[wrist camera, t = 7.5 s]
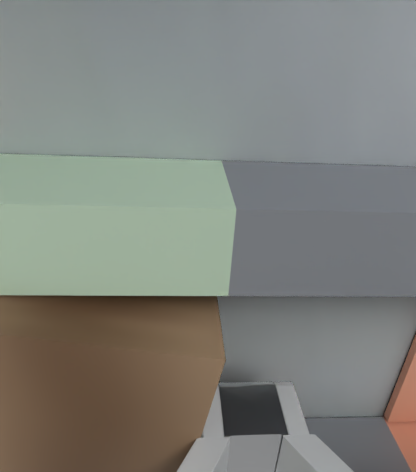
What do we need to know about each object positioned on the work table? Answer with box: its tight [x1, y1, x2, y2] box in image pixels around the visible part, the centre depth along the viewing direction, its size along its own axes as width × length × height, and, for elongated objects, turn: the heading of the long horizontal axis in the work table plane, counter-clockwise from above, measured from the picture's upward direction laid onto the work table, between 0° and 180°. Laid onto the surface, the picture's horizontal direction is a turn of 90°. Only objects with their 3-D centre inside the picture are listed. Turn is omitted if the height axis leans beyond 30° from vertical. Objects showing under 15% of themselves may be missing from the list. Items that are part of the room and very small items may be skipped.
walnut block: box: [0, 295, 226, 472], centre depth 10 cm, size 5×6×4 cm
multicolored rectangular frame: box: [0, 154, 416, 472], centre depth 11 cm, size 20×12×3 cm, turn 87°
